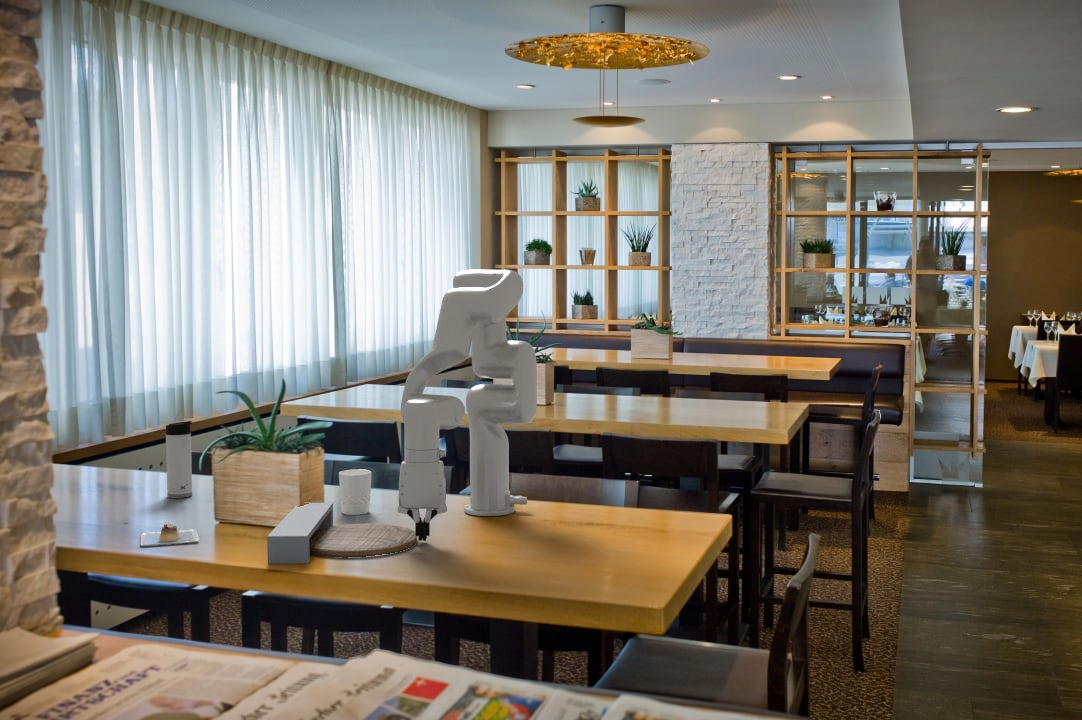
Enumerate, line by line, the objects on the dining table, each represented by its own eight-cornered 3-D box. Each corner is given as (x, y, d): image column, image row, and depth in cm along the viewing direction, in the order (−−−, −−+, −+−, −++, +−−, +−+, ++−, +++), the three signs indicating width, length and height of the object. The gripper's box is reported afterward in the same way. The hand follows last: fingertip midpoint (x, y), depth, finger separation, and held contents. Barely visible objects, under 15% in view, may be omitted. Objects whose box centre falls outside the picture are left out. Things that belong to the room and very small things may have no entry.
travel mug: (189, 498, 288) (187, 422, 286) (163, 498, 288) (161, 422, 286) (196, 494, 294) (195, 419, 293) (172, 493, 294) (170, 419, 293)
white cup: (368, 515, 267) (368, 475, 267) (336, 515, 268) (335, 475, 267) (374, 509, 275) (373, 469, 275) (342, 508, 275) (342, 469, 275)
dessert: (141, 538, 247) (140, 516, 247) (196, 533, 251) (196, 513, 251) (140, 550, 236) (139, 528, 235) (199, 545, 240) (198, 524, 239)
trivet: (320, 530, 253) (320, 522, 253) (427, 533, 251) (427, 524, 251) (284, 558, 229) (284, 549, 228) (403, 561, 226) (402, 552, 226)
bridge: (333, 526, 256) (333, 502, 256) (307, 563, 223) (306, 536, 223) (298, 526, 256) (298, 502, 255) (267, 563, 223) (267, 536, 222)
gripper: (457, 453, 243) (457, 535, 244) (389, 453, 242) (390, 535, 243) (455, 458, 235) (456, 543, 237) (385, 459, 235) (386, 543, 236)
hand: (422, 539), depth 240 cm, fingers closed
